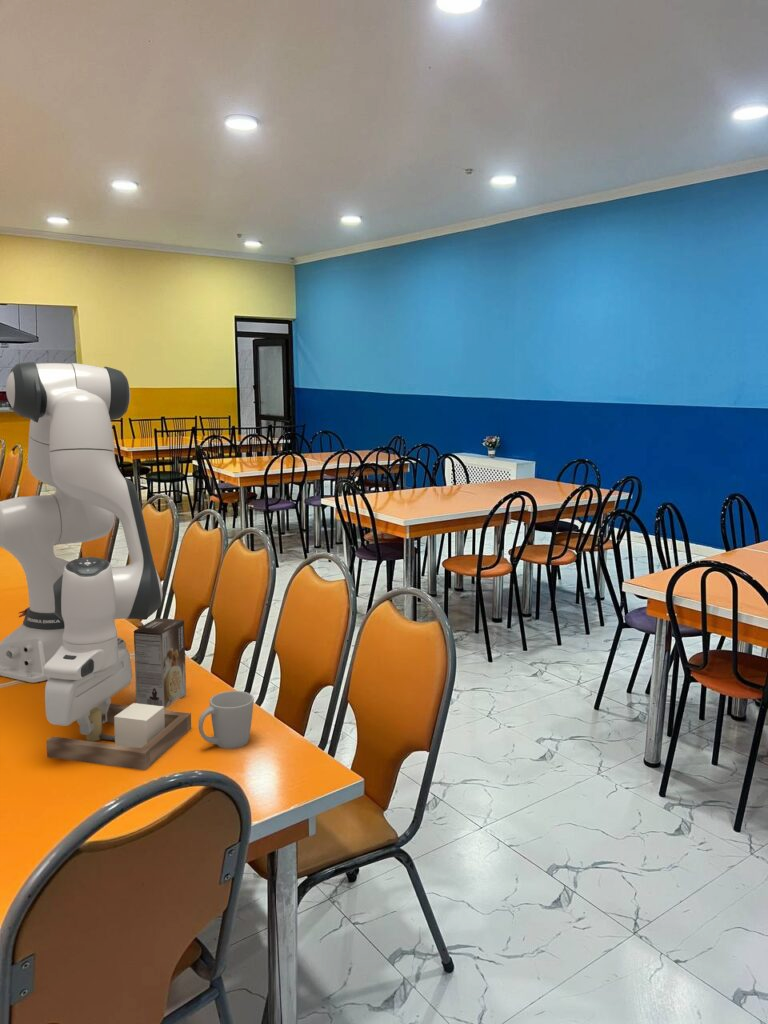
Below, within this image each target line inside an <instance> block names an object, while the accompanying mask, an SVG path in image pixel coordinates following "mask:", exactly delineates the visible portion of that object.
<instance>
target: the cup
mask: <svg viewBox="0 0 768 1024" xmlns="http://www.w3.org/2000/svg"><path fill="white" fill-rule="evenodd" d="M254 700H255V699H254V696H253V695H252V694H251V693H250V692H246V691H243V690H242V691H241V690H228V691H222V692H219V693H216V694H215V695H212V697H210V699H209V705H208V707H207V708H206V709H205V710H204V711H202V713H201V714H200V716H199V719H198V731H199V734H200V736H201V737H202V738H203V740H204V741H205V742H207V743H210V744H213V745H216V746H217V747H219V748H221V749H224V750H225V749H227V750H231V749H232V750H233V749H239V748H242V747H244V746H246V745H247V744H248V743H249V741H250V734H251V728H252V723H253V722H252V720H253V713H254V712H253V711H254V702H255V701H254ZM210 715H211V724H212V729H213V730H212V731H213V736H208V735H206V734H205V731H204V722H205V720H206V718H207V717H208V716H210Z"/></svg>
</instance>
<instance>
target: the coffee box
mask: <svg viewBox="0 0 768 1024" xmlns="http://www.w3.org/2000/svg"><path fill="white" fill-rule="evenodd" d="M185 633H186V632H185V620H184V619H175V618H162V617H161V618H159V617H156V618H154V619H153V620H151V621H149V622H147V623H145V624H144V625H142V626H139V627H138V628H136V629H134V630H133V648H134V650H133V651H134V674H135V679H134V680H135V698H136V700H135V701H136V702H135V703H138V704H147V705H155V706H164V710H165V709H167V708H168V707H170V706H171V705H172V704H173V703H175V702H176V701H177V700H178V699H183V697H185V696H186V695H187V684H186V683H187V675H186V641H185V639H186V636H185Z"/></svg>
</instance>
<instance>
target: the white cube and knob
mask: <svg viewBox="0 0 768 1024" xmlns="http://www.w3.org/2000/svg"><path fill="white" fill-rule="evenodd" d="M127 706H128V707H127V708H126V709H124V710H123V711H121V712H120V713H119V714H117V715H116V716H114V723H113V724H114V735H113V734H112V735H111V734H103V724H102V719H101V709H98V708H97V707H95V708H93V709H92V710H90V716H88V718H89V720H90V722H94V730H93V731H92V732H91V733H90V734H88V735H85V741H91V742H99V741H101V740H107V741H114V745H122V746H129V747H137V748H142V747H143V746H144V745H145V744H147V743H148V742H149V741H150V740H151V739H153V738H154V737H155V736H156V735H157V734H159V733H160V732H161V731H162V730H163V729H164V728H165V715H164V710H165V709H164V706H155V705H147V704H138V703H136V702H132V703H131V704H130V705H127Z"/></svg>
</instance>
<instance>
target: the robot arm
mask: <svg viewBox="0 0 768 1024" xmlns="http://www.w3.org/2000/svg"><path fill="white" fill-rule="evenodd" d="M9 373H10V374H9V375H8V377H7V380H6V383H5V384H6V385H5V392H6V393H5V394H6V399H7V401H8V402H9V404H10V409H11V410H12V411H13V412H14V413H15V414H17V415H18V416H19V417H22V418H24V419H29V420H30V422H29V432H28V451H27V452H28V453H27V467H28V471H29V472H30V474H31V475H32V477H34V478H35V479H37V481H38V482H39V481H40V482H41V483H44V484H45V485H48V486H50V487H52V488H55V491H54V493H53V494H43V495H28V496H17V497H13V498H8V499H3V500H1V501H0V548H2V549H4V550H5V551H7V552H9V554H11V555H12V556H13V557H14V558H15V559H16V560H17V561H18V562H19V564H20V565H21V567H22V569H23V571H24V572H23V573H24V575H25V577H26V578H25V579H26V584H27V590H28V592H27V593H28V603H29V604H28V605H29V606H28V607H27V608H25V609H24V610H22V611H19V612H18V614H20V615H18V618H22V617H24V618H23V621H22V624H21V625H20V626H18V627H17V628H15V630H13V631H12V632H11V633H9V634H8V635H7V636H5V637H4V638H3V639H2V640H1V641H0V676H2V677H6V678H10V679H13V680H14V679H15V680H17V681H22V682H27V683H32V684H33V683H39V682H40V683H41V682H44V681H46V683H45V687H44V688H45V689H44V704H45V717H46V719H47V721H48V722H49V723H50V724H51V725H54V726H55V725H57V726H63V727H64V726H65V727H66V726H69V725H71V724H72V723H74V722H75V721H76V722H77V724H78V725H79V733H80V734H81V735H85V736H86V735H88V734H90V733H91V732H92V731H93V730H94V722H90V720H89V718H88V716H90V710H92V709H93V708H98V709H101V719H102V725H104V724H105V723H107V722H106V721H107V712H108V709H109V706H110V704H112V697H113V696H115V695H116V694H118V693H119V692H120V691H122V690H124V689H125V688H126V687H128V686H130V684H131V681H132V679H133V672H132V671H133V670H132V661H131V657H130V656H131V655H130V652H129V650H128V649H127V644H126V641H124V639H123V638H121V637H118V629H117V626H116V623H115V622H116V621H115V620H122V619H124V620H125V619H127V620H146V619H148V618H149V617H151V616H152V615H154V614H155V613H156V611H157V610H159V608H161V606H162V602H163V601H162V600H163V593H164V592H163V586H162V581H161V579H160V576H159V574H158V571H157V569H156V565H155V562H154V559H153V552H152V548H151V544H150V540H149V536H148V531H147V527H146V523H145V519H144V514H143V509H142V507H141V502H140V499H139V496H138V495H139V494H138V492H137V490H136V489H137V488H136V487H135V484H134V483H133V482H132V480H130V479H128V478H126V477H124V476H123V474H122V473H121V471H120V469H119V468H118V465H117V461H116V457H115V456H116V455H115V442H114V434H113V433H114V431H113V427H112V426H113V425H112V421H114V420H118V419H121V418H122V417H123V416H124V415H126V413H127V411H128V408H129V404H130V402H131V388H130V385H129V380H128V378H127V376H126V375H125V374H124V372H123V371H121V370H119V369H116V368H114V367H110V366H109V367H108V366H104V367H102V366H101V367H99V366H97V365H92V364H91V365H90V364H85V363H84V364H83V363H75V362H69V363H64V362H63V363H61V362H60V363H59V362H57V363H56V362H52V363H51V362H45V363H43V362H40V363H35V361H30V362H29V361H28V362H21V363H17V364H15V365H14V366H13V367H12V368H11V370H10V372H9ZM115 518H117V519H118V520H119V522H120V523H121V525H122V530H123V533H124V534H123V535H124V537H125V542H126V547H127V550H128V555H129V560H130V562H129V563H128V564H126V565H125V566H111V563H110V562H109V560H107V559H104V558H102V557H101V558H100V557H94V556H85V557H79V558H76V559H75V558H74V559H73V560H66V559H63V558H59V557H58V556H56V554H55V551H54V547H55V546H59V545H69V544H79V543H86V542H91V541H94V540H97V539H98V540H99V539H101V538H104V537H107V536H108V535H109V534H110V532H111V531H112V529H113V527H114V524H115Z"/></svg>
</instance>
